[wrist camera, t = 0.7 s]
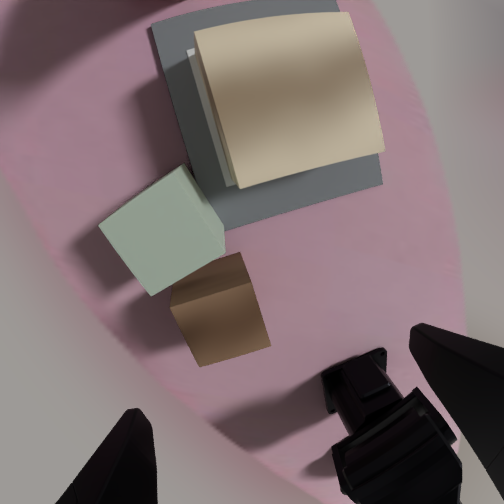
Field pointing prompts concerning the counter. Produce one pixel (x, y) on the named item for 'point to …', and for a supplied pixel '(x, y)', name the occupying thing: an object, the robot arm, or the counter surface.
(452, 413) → the robot arm
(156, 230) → the sage block
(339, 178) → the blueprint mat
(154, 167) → the counter surface
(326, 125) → the birch base block
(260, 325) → the walnut cube
